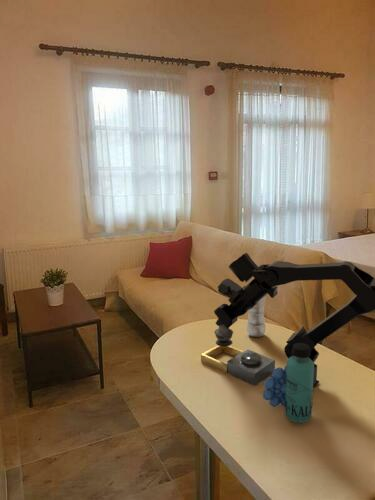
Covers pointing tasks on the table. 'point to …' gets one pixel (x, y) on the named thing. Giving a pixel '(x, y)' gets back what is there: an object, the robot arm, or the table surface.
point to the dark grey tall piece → (223, 336)
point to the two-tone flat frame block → (241, 364)
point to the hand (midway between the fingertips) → (219, 321)
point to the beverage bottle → (299, 384)
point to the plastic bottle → (256, 319)
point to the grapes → (276, 387)
